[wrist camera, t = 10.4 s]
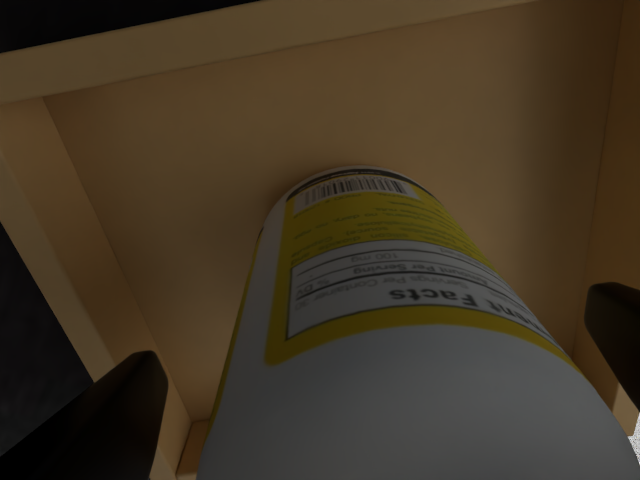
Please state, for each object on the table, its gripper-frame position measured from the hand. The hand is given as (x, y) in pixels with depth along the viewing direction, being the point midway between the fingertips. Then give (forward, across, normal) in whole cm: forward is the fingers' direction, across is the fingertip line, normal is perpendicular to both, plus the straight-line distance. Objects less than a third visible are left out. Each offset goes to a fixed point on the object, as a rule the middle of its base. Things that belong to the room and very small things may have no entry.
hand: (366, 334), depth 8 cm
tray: (+4, 0, 0) cm, 4 cm away
